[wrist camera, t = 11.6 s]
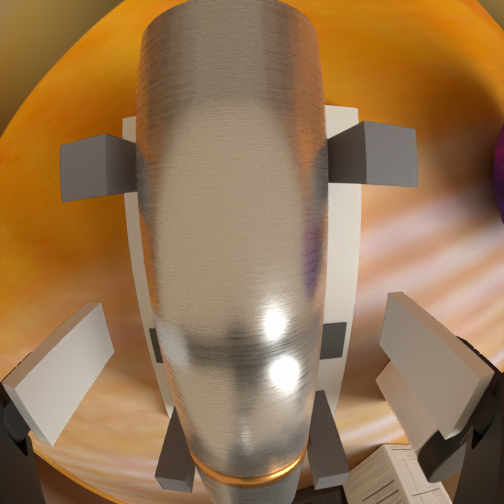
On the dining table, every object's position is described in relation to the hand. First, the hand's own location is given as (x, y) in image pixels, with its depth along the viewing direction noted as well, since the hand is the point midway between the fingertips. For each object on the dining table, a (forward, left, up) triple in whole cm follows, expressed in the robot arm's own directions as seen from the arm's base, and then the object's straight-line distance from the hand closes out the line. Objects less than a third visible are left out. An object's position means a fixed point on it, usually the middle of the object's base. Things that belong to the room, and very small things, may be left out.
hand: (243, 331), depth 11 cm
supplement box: (-30, -18, -8) cm, 36 cm away
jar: (-11, -16, -8) cm, 21 cm away
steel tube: (-1, 0, +1) cm, 2 cm away
